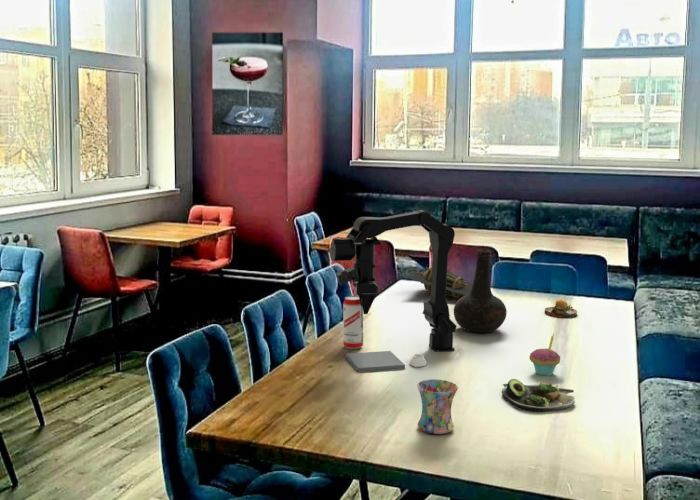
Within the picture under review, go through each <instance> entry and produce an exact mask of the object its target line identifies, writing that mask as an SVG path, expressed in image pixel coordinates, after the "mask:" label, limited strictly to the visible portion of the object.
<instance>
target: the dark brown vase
mask: <svg viewBox="0 0 700 500" xmlns="http://www.w3.org/2000/svg"><path fill="white" fill-rule="evenodd" d="M476 252H477V253H476V255H475V257H476V265H475V272H474V276H473V277H474V279H473V283H472V284H473V286H472V288H471V291H470V292H469V293H468V294H467V295H462V296H461V297H459V298H458V300H457V301H456V302H455V305H454V306H453V315H454V319H455V322H456V323H457V325H459V327H460V328H462V329H463V330H466V331H468V332H470V333H471V332H472V333H477V334H487V333H489V334H490V333H492V332H495V331H496V330H498V329H499V328H500V327H501V326H502V325H503V324H504V322H505V320H506V318H507V312H508V311H507V307H506V304H505V303H504V302H503V300H502V299H500V298H499V297H497V296H496V295H494V294H493V293H492V288H491V268H490V267H491V266H490V265H491V258H493V255H491V252H492V251H491V250H489V249H478V250H477V251H476Z"/></svg>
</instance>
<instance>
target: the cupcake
mask: <svg viewBox="0 0 700 500" xmlns="http://www.w3.org/2000/svg"><path fill="white" fill-rule="evenodd" d="M554 335H555V333H553V334H552V335H551V337H550V341H549V345H548V348H537V349H534V350H533V351H531V353H530V354H529V360H530V362H531V363H532V364H533V367H534V371H535V374H537V375H539V376H545V377H546V376H548V377H549V376H552V375H553V374H554V372H555V369H556V367H557V365H559V364H560V362H561V356H560V355H559V354H558V352H556V351H555V350H553V349H552V346H553V342H554Z"/></svg>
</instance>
